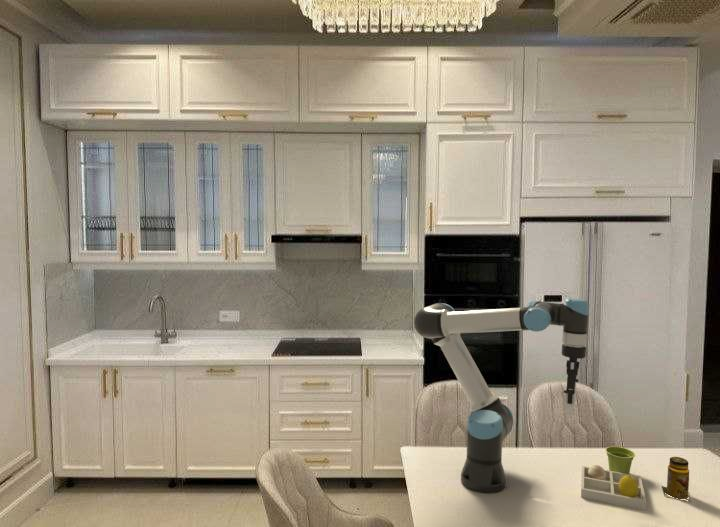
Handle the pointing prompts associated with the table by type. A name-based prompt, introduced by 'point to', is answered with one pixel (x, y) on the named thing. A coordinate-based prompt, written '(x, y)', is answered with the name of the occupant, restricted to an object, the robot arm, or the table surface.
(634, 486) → the lemon
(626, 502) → the tray
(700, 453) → the table surface
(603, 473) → the beige rounded ball
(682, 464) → the condiment
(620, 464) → the plant pot
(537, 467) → the table surface
